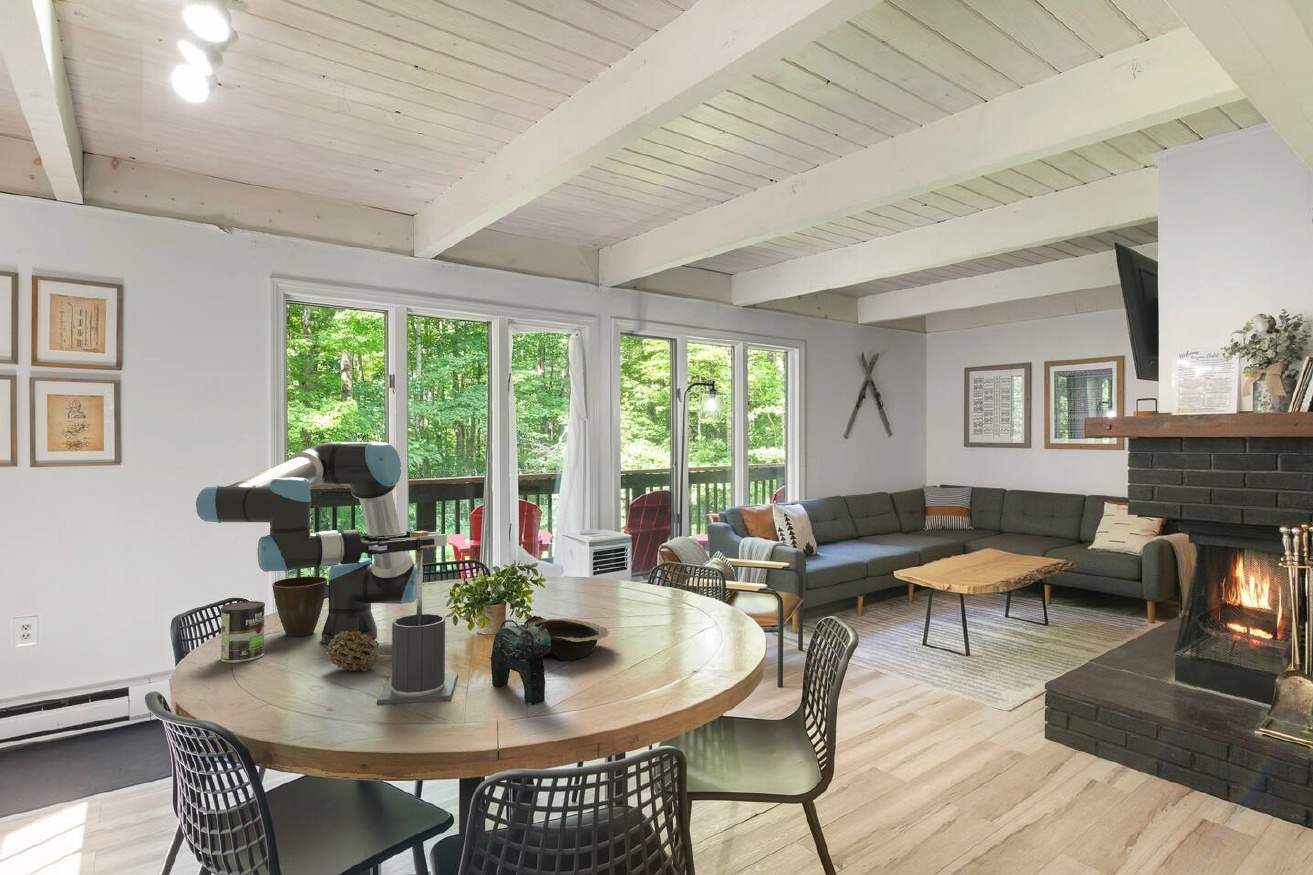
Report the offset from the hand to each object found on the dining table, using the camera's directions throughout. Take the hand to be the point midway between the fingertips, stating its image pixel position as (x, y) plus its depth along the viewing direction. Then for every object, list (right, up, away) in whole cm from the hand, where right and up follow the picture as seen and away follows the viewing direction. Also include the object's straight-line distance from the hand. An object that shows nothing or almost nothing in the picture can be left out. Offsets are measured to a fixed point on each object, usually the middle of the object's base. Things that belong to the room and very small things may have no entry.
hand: (441, 538), depth 166 cm
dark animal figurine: (+19, -36, -4) cm, 41 cm away
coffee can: (-61, -36, +21) cm, 73 cm away
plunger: (-4, -25, -3) cm, 25 cm away
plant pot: (-57, -36, +43) cm, 79 cm away
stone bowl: (+26, -36, +28) cm, 53 cm away
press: (-5, -36, -2) cm, 36 cm away
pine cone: (-22, -36, +11) cm, 44 cm away
